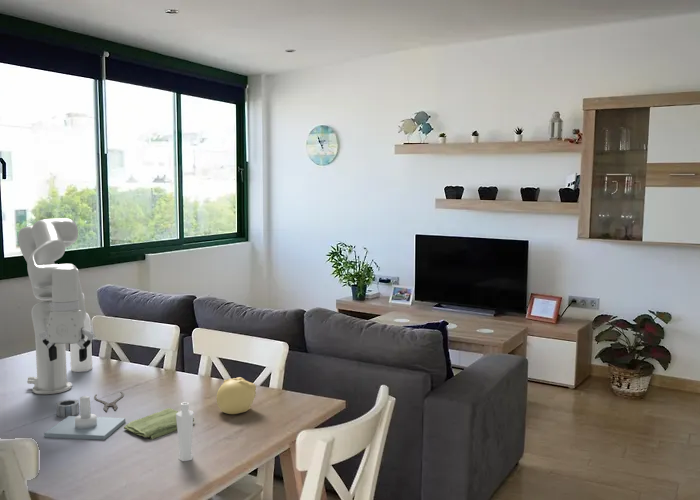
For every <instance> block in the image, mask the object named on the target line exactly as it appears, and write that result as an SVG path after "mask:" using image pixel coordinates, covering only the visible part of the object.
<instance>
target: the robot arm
mask: <svg viewBox="0 0 700 500" xmlns="http://www.w3.org/2000/svg"><path fill="white" fill-rule="evenodd" d="M78 236H79V229H78V226H77V224H76V222H75V221H74V220H73V219H70V218H44V219H39V220H37V221H35V223H33V224H32V225H28V226H23V227H22V228H20V230H19V231H18V236H17V239H18V246H19V250H20V252H21V254H22V256H23V257H24V259H25V261H26V264H27V265H26V266H27V274H28V278H29V281H30V283H31V284H30V285H31V289H32V294H33V296H34V297H35V299H36V300H40V302H37V303H36V304H34V305H33V306H32V308H31V313H30V314H31V321H32V325H33V330H34V339H35V341H34V342H35V358H36V364H35V365H36V377H35V376H28V377H27V381H26V382H27V384H28V385H30V384H31V385H34V386H33V387H32V392H33V393H35V394H36V395H54V394H60V393H64V392H67V391H69V390H71V389H72V387H73V383H71V382H70V381H68V377H67V375H68V374H67V351H66V344H67V345H68V344H69V345H70V344H75V343H77V344H78V345H79V347H80V348H81V349H79V361H80V362H82V361H84V360H86V358H87V347H88V346H89V345H90V344H91V343H93V340H94V338H95V334H94V333H93V332H92V331H91V332H89V331H87V330H86V329H85V328H84V321H85V319H86V313H87V309H86V303H85V298H83V294H84V292H83V287H82V282H81V280H80V271H79V269H78V268H77V266H76V265H74V264H73V263H59V264H58V263H55V262H56V261H58V260H59V259H61V258H62V257H63V256H64V254H65V252H66V248H69V247H70V246H72V245H73V244H75V242H77V239H78ZM85 335H86V336H87V337H88V339H87V341H85V340H84V339H85Z"/></svg>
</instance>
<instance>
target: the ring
mask: <svg viewBox="0 0 700 500" xmlns="http://www.w3.org/2000/svg"><path fill="white" fill-rule="evenodd" d="M78 415H80V400H76V399H65V400H60V401H59V402H57V403H56V417H59V418H67V417H68V416H78Z"/></svg>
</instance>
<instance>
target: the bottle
mask: <svg viewBox="0 0 700 500" xmlns="http://www.w3.org/2000/svg"><path fill="white" fill-rule="evenodd" d="M83 298H84V299H85V294H84V293H83ZM91 321H92V320H91V317H90V315H89V313H88V312H86V319H85V321H84V328H85V329H86V330H87V331H89V332H91V333H92V322H91ZM87 339H88V337H87V336H86V335H85V339H84V340H85V341H87ZM92 343H93V342H92ZM92 343H91V344H90V345H89V346H88V347H87V358H86V360H84V361H82V362H80V361H79V349H81V348H80V347H79V345H78V344H77V343H75V344H69V348H70V349H69V350H70V351H69V352H70V353H69V355H70V356H69V357H70V363H69V364H70V371H71V372H74V373H83V372H89V371H91V370H92V369H93V349H92V347H93V346H92Z"/></svg>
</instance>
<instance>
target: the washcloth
mask: <svg viewBox="0 0 700 500" xmlns="http://www.w3.org/2000/svg"><path fill="white" fill-rule="evenodd" d="M178 412H179V411H178V410H176V409H173V408H171V407H168V408H165V409H162V410H161V411H158V412H154V413H152V414H150V415H147V416H144V417H142V418H141V417H140V418H138V419H135V420H132V421H129V422H128V423H127V424H125V426H124V427H123V429H124V430H126V431H128V432H131V433H133V434H134V435H138V436H140V437H141V436H142V437H144V438H148V439H150V440H154V439H156V438H159V437H163V436H165V435H167V434H170V433H173V432H176V431H177V421H176V413H178ZM193 422H195V418H194V417H193Z"/></svg>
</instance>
